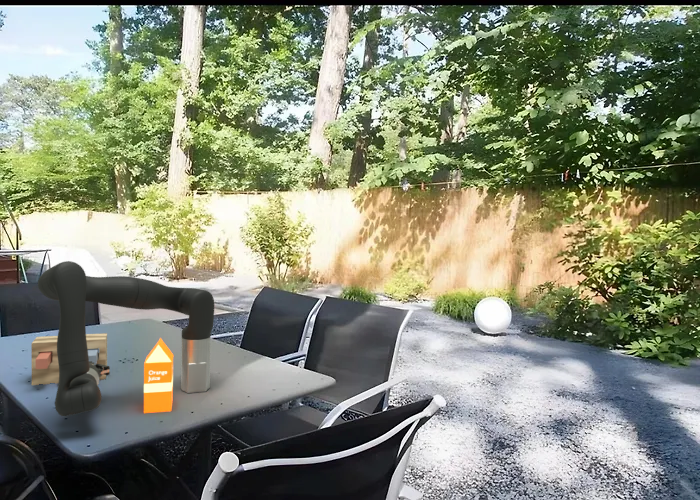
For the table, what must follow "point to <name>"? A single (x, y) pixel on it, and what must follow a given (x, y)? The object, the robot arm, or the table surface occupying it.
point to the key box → (51, 345)
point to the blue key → (93, 355)
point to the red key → (43, 360)
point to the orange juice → (158, 379)
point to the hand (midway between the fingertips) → (89, 364)
